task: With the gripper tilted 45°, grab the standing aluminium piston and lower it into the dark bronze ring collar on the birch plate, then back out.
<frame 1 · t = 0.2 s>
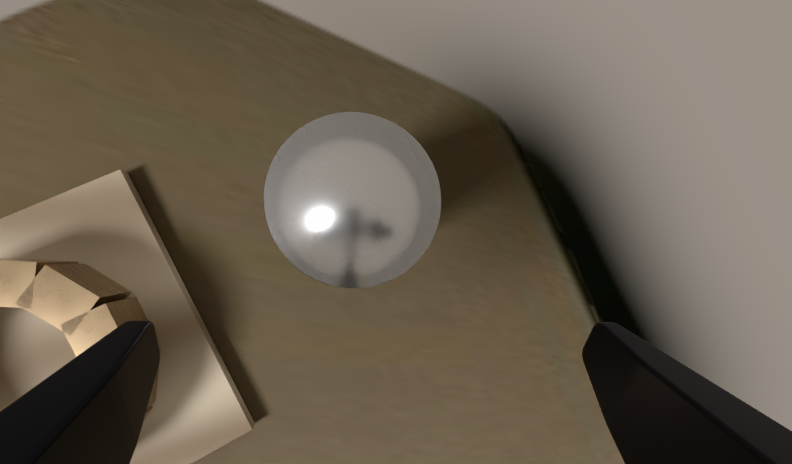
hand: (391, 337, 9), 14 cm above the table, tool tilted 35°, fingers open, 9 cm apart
piston: (336, 229, 23), on the table
ring collar: (47, 368, 20), resting on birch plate
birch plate: (47, 368, 20), on the table
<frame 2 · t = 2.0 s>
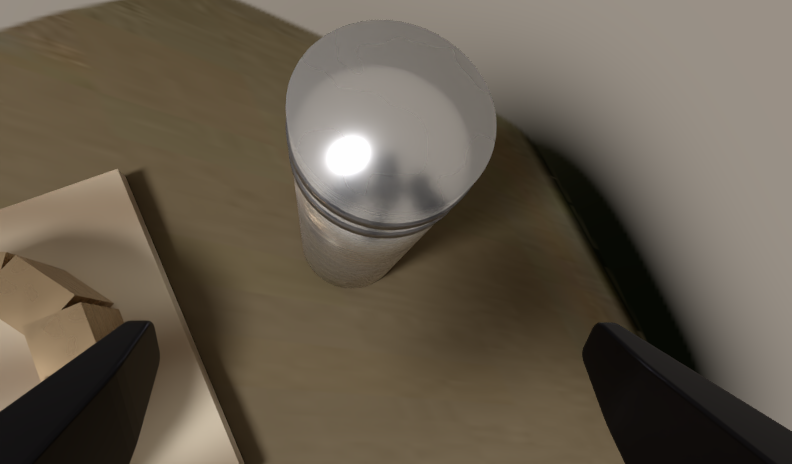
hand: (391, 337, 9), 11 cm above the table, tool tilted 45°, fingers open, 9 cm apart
piston: (351, 240, 21), on the table
ring collar: (0, 398, 17), resting on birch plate
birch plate: (0, 398, 17), on the table
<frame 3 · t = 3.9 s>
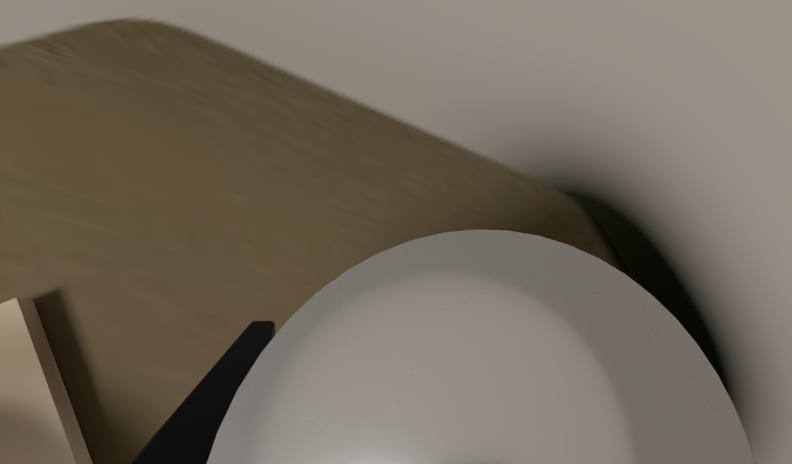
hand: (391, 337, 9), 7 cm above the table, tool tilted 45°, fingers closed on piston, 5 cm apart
piston: (358, 381, 15), on the table, touching gripper
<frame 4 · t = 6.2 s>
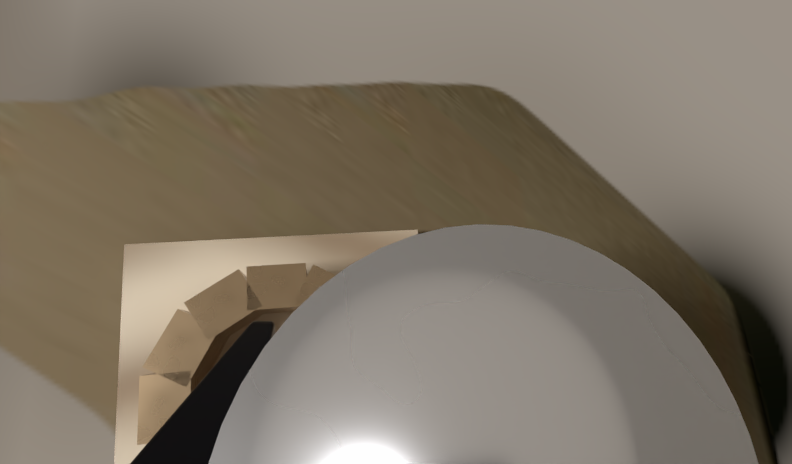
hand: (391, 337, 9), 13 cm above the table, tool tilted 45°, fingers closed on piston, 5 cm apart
piston: (359, 379, 15), point 7 cm above the table, touching gripper
ring collar: (286, 383, 21), resting on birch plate
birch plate: (286, 383, 21), on the table
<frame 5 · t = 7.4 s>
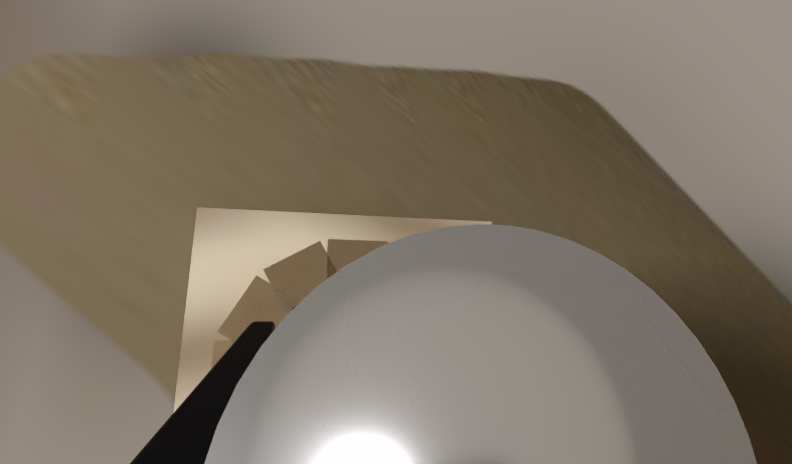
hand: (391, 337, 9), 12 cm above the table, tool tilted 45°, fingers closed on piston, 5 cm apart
piston: (358, 379, 15), point 5 cm above the table, touching gripper
ring collar: (348, 367, 20), resting on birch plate
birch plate: (348, 367, 20), on the table
when the fingers open (9 cm above the table, at t = 8.3 s): piston drops 1 cm, resting on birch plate.
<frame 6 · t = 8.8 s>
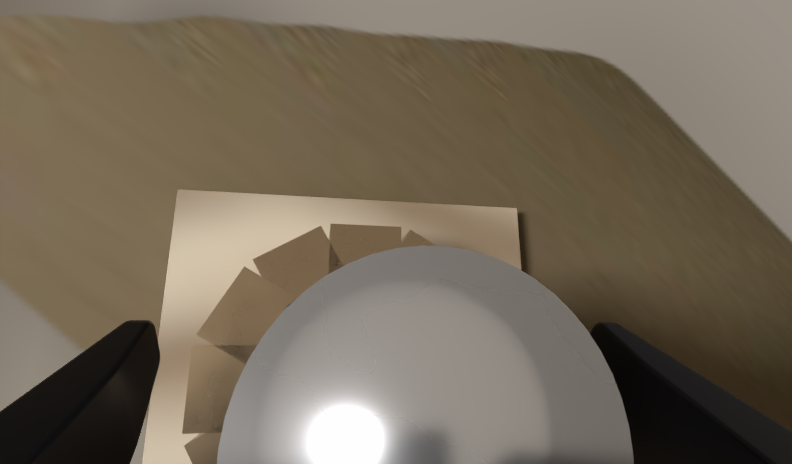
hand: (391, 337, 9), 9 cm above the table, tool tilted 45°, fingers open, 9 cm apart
piston: (355, 378, 16), point 1 cm above the table, touching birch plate
ring collar: (353, 375, 17), resting on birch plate
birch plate: (353, 375, 17), on the table
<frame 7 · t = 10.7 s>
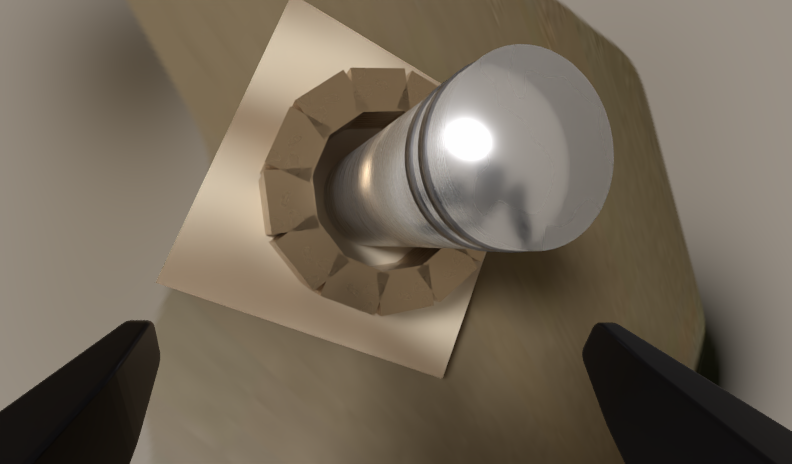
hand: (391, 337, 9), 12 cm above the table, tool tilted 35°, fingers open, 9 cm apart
piston: (370, 198, 21), point 1 cm above the table, touching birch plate
ring collar: (366, 198, 22), resting on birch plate
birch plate: (366, 198, 22), on the table
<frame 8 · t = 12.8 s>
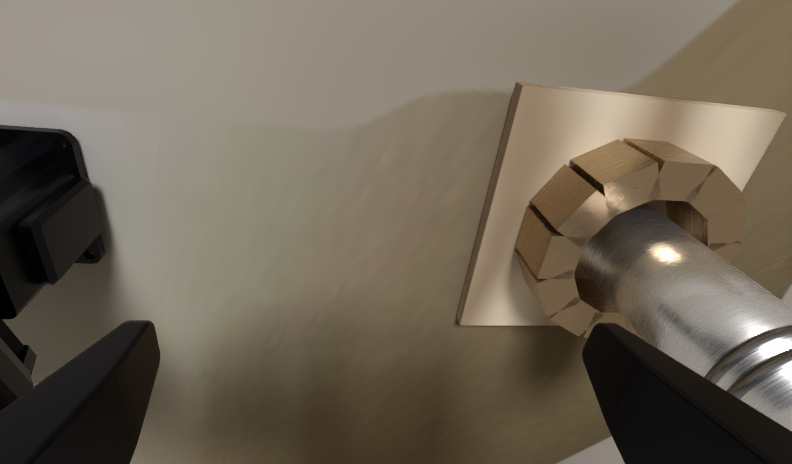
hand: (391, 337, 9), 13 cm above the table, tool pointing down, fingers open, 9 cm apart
piston: (606, 229, 24), point 1 cm above the table, touching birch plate
ring collar: (599, 222, 24), resting on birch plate
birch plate: (599, 222, 24), on the table
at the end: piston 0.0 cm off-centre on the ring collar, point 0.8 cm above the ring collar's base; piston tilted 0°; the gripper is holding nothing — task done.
